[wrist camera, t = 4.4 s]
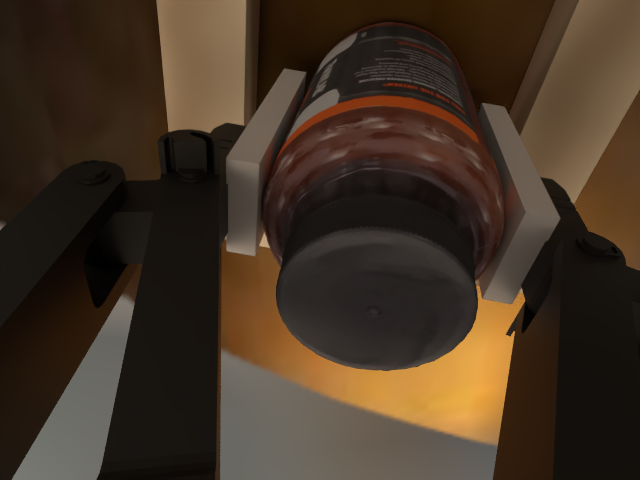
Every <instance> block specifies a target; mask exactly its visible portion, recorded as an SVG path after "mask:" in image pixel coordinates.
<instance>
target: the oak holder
mask: <svg viewBox="0 0 640 480" xmlns="http://www.w3.org/2000/svg"><path fill="white" fill-rule="evenodd" d="M157 9H158V20H159V31H160V42H161V53H162V64H163V75H164V85H165V96H166V107H167V118H168V129H169V132H171V131H176V130H184V129H193V130H201V131H204V132H207V133H211V131H212V130H213V129H214V128H216V127H218V126H220V125H222V124H224V123H232V124H238V125H243V126H247V125H248V123H249V122H250V120H251V119H252V117H253V116H254V114H255V113H256V103H257V77H258V50H259V23H260V0H157ZM639 90H640V0H555V2H554V4H553V7H552V9H551V11H550V14H549V16H548V19H547V21H546V24H545V26H544V29H543V31H542V34H541V36H540V39H539V41H538V44H537V46H536V48H535V51H534V53H533V56H532V58H531V61H530V63H529V66H528V68H527V71H526V73H525V76H524V78H523V81H522V83H521V85H520V88H519V90H518V93H517V95H516V98H515V100H514V103H513V105H512V108H511V110H510V113H509V116H510V118H511V120H512V122H513V124H514V126H515V128H516V130H517V132H518V134H519V136H520V138H521V140H522V142H523V144H524V146H525V148H526V150H527V152H528V154H529V156H530V158H531V160H532V162H533V164H534V166H535V168H536V170H537V172H538V174H539V176H540V177H543V178H548V179H553V180H554V181H555V182H557V183H558V184H559V185H560V186H561V187H562V188H564V189H565V190H566V192H567V194H568V196H569V197H570V199H571V202H572V203H573V205H574V203H575V201H576V199H577V198H578V196H579V194H580V192H581V191H582V189H583V187H584V185H585V184H586V182H587V180H588V178H589V177H590V175H591V173H592V171H593V170H594V168H595V166H596V165H597V163H598V161H599V159H600V158H601V156H602V154H603V152H604V151H605V149H606V147H607V145H608V144H609V142H610V140H611V138H612V137H613V135H614V133H615V132H616V130H617V128H618V126H619V125H620V123H621V121H622V119H623V118H624V116H625V114H626V112H627V111H628V109H629V107H630V105H631V104H632V102H633V100H634V98H635V97H636V95H637V93H638V92H639ZM225 240H227V236H226V237H225ZM259 246H263V247H269V245H268V242H267V238H266V235H265V232H264V235H263V237H262V240H261V242H260V245H259ZM269 248H270V247H269ZM475 283H476V285H478V286H480V285H479V280H476V281H475ZM519 293H523V291H522V287H521V289H520V291H519Z"/></svg>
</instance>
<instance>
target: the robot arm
mask: <svg viewBox="0 0 640 480" xmlns="http://www.w3.org/2000/svg"><path fill="white" fill-rule="evenodd" d="M305 81H306V72H302V71H296V70H291V69H285V68H284V70H283V71H282V73H281V74H280V76H279V77H278V79H277V80H276V82H275V84H274V85H273V87H272V88H271V90H270V91H269V93H268V94H267V96H266V97H265V99H264V100H263V102H262V104H261V105H260V107H259V108H258V110H257V111H256V113H255V114H254V116H253V117H252V119H251V120H250V122H249V123H248V125H247V126H243V125H238V124H232V123H224V124H222V125H220V126H218V127H216V128H214V129H213V130H212V131H211V133H207V132H204V131H201V130H193V129H184V130H176V131H171V132H168V133H166V134H164V135H162V136H161V137H160V139H159V140H158V149H159V158H160V167H161V178H160V179H159V180H149V181H126V178H125V173H124V171H123V168H121V167H120V166H118V165H117V164H115V163H111V162H107V161H97V160H91V161H84V162H81V163H78V164H75V165H72V166H70V167H68V168H67V169H65V170H64V171H62V172H61V173H60V174H59V175H58V176H57V177H56V178H55V179H54V180H53V181H52V182H51V183H50V184H49V185H48V186H47V187H45V188H44V189H43V190H42V191H41V192H40V193H39V194H38V195H37V196H36V197H35V198H34V199H33V200H32V201H31V202H30V203H29V204H27V205H26V206H25V207H24V208H23V209H22V210H21V211H20V212H19V213H18V214H17V215H16V216H15V217H14V218H13V219H12V220H10V221H9V222H8V223H7V224H6V225H5V226H4V227H3V228H2V229H1V230H0V480H12V478H13V476H14V474H15V473H16V471H17V469H18V468H19V466H20V464H21V463H22V461H23V459H24V458H25V456H26V454H27V453H28V451H29V449H30V447H31V446H32V444H33V443H34V441H35V439H36V438H37V436H38V434H39V432H40V431H41V429H42V427H43V426H44V424H45V422H46V421H47V419H48V417H49V416H50V414H51V412H52V410H53V409H54V407H55V405H56V404H57V402H58V400H59V399H60V397H61V395H62V394H63V392H64V390H65V389H66V387H67V385H68V384H69V382H70V380H71V379H72V377H73V375H74V373H75V372H76V370H77V368H78V367H79V365H80V363H81V362H82V360H83V358H84V357H85V355H86V353H87V352H88V350H89V348H90V346H91V345H92V343H93V342H94V340H95V338H96V337H97V335H98V333H99V331H100V330H101V328H102V326H103V325H104V323H105V321H106V320H107V318H108V316H109V315H110V313H111V311H112V309H113V308H114V306H115V305H116V303H117V301H118V299H119V298H120V296H121V294H122V293H123V291H124V289H125V288H126V286H127V284H128V283H129V281H130V279H131V278H132V276H133V274H134V273H135V271H136V269H137V267H138V264H141V263H143V266H142V271H141V276H140V280H139V285H138V290H137V295H136V300H135V305H134V310H133V315H132V320H131V325H130V330H129V334H128V339H127V344H126V349H125V354H124V359H123V364H122V369H121V374H120V379H119V383H118V388H117V393H116V398H115V403H114V408H113V413H112V418H111V423H110V428H109V433H108V437H107V443H106V447H105V452H104V457H103V462H102V466H101V469H100V473H99V476H98V478H97V480H220V399H221V393H220V392H221V390H220V389H221V385H220V384H221V245H222V243H223V241H224V239H225V237H226V236H227V251H229V252H235V253H240V254H246V255H251V256H255V255H256V253H257V250H258V247H259V245H260V242H261V240H262V237H263V235H264V229H263V220H262V208H263V198H264V192H265V188H266V184H267V181H268V178H269V175H270V172H271V170H272V168H273V165H274V163H275V161H276V159H277V156H278V154H279V151H280V148H281V146H282V144H283V143H284V141H285V138H286V136H287V133H288V132H289V130H290V127H291V125H292V123H293V121H294V119H295V117H296V115H297V112H298V110H299V108H300V106H301V103H302V101H303V99H304V90H305ZM478 115H479V118H480V121H481V124H482V127H483V130H484V133H485V135H486V138H487V142H488V145H489V147H490V151H491V154H492V156H493V159H494V161H495V165H496V169H497V172H498V175H499V178H500V181H501V184H502V190H503V196H504V206H505V220H504V228H503V234H502V238H501V241H500V244H499V247H498V249H497V251H496V253H495V256H494V258H493V259H492V261H491V262H490V264H489V266H488V267H487V268H486V270H485V271H484V272H483V274H482V275H481V277H480V278H479V279H478V280H479V285H480V290H481V294H482V299H486V300H491V301H497V302H502V303H507V304H512V303H513V302H514V300H515V298H516V296H517V294H518V293H519V291H520V289H521V287H522V291H523V294H524V297H525V300H526V301H525V303H524V304H523V306H522V308H521V309H520V311H519V313H518V314H517V316H516V318H515V320H514V321H513V323H512V325H511V326H510V328H509V330H508V332H507V334H506V335H508V336H511V334H512V333H513V331H515V336H514V343H513V349H512V356H511V363H510V369H509V376H508V383H507V389H506V396H505V402H504V409H503V416H502V422H501V429H500V436H499V442H498V449H497V455H496V462H495V469H494V476H493V480H640V271H638V270H636V269H633V268H630V267H628V266H626V261H625V257H624V255H623V253H622V251H621V250H620V249H619V248H618V247H617V246H616V245H615V244H614V243H612V242H610V241H609V240H607V239H606V238H604V237H602V236H599V235H597V234H595V233H592V232H589V231H588V229H587V228H586V226H585V224H584V222H583V221H582V219H581V217H580V215H579V213H578V212H577V211H576V208H575V206H574V205H573V203H572V202H571V199H570V197H569V196H568V194H567V192H566V190H565V189H564V188H562V187H561V186H560V185H559V184H558V183H557V182H555V181H554V180H553V179H548V178H543V177H540V176H539V174H538V172H537V170H536V168H535V166H534V164H533V162H532V160H531V158H530V156H529V154H528V152H527V150H526V148H525V146H524V144H523V142H522V140H521V138H520V136H519V134H518V132H517V130H516V128H515V126H514V124H513V122H512V120H511V118H510V116H509V114H508V112H507V110H506V108H505V107H504V106H498V105H492V104H487V103H482V104H481V107H480V110H479V112H478Z"/></svg>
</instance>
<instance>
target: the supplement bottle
mask: <svg viewBox="0 0 640 480" xmlns="http://www.w3.org/2000/svg"><path fill="white" fill-rule="evenodd" d="M262 220H263V229H264V232H265V235H266V238H267V242H268V245H269V247H270V249H271V251H272V253H273V255H274V258H275V259H276V260H277V262H278V264H279V266H280V267H281V270H280V273H279V277H278V281H277V286H276V300H277V307H278V310H279V313H280V316H281V318H282V320H283V322H284V323H285V325H286V327H287V328H288V329H289V331H290V332H291V334H292V335H293V336H294V337H295V338H296V339H298V340H299V341H300V342H301V343H302V344H303V345H304V346H306V347H307V348H308V349H310V350H312V351H313V352H315V353H316V354H317V355H319V356H321V357H324V358H326V359H328V360H330V361H333V362H335V363H338V364H341V365H344V366H349V367H353V368H357V369H367V370H383V371H390V370H398V369H407V368H411V367H418V366H420V365H422V364H425V363H429V362H432V361H435V360H436V359H438V358H440V357H442V356H443V355H445V354H447V353H449V352H450V351H452V350H453V349H454V348H455V347H456V346H457V345H458V344H459V343H460V342H462V341H463V340H464V339H465V337H466V336H467V334H468V333H469V332H470V330H471V329H472V327H473V324H474V322H475V319H476V313H477V309H478V297H477V289H476V283H475V281H476V280H478V279H479V278H480V277H481V275H482V274H483V272H484V271H485V270H486V268H487V267H488V266H489V264H490V262H491V261H492V259H493V258H494V256H495V253H496V251H497V249H498V247H499V244H500V241H501V238H502V234H503V228H504V220H505V206H504V196H503V190H502V184H501V181H500V178H499V175H498V172H497V169H496V165H495V161H494V159H493V156H492V154H491V151H490V147H489V145H488V142H487V138H486V135H485V133H484V130H483V127H482V124H481V121H480V118H479V115H478V112H477V109H476V107H475V104H474V101H473V97H472V95H471V92H470V88H469V86H468V83H467V80H466V77H465V75H464V73H463V71H462V69H461V67H460V65H459V62H458V60H457V59H456V57H455V56H454V54H453V53H452V51H451V50H450V49H449V48H448V46H447V45H446V44H445V43H444V42H443V41H442V40H441V39H439V38H438V37H437V36H435V35H434V34H432V33H430V32H428V31H426V30H424V29H422V28H420V27H417V26H414V25H410V24H405V23H397V22H384V23H377V24H373V25H369V26H366V27H363V28H361V29H359V30H357V31H355V32H353V33H351V34H349V35H348V36H346V37H345V38H343V39H342V40H341V41H339V42H338V43H337V44H336V45H335V46H334V47H333V48H332V49H331V50H330V51H329V53H328V54H327V55H326V56H325V58H324V59H323V61H322V62H321V64H320V65H319V66H318V68H317V70H316V72H315V74H314V76H313V78H312V80H311V82H310V85H309V87H308V89H307V92H306V94H305V96H304V99H303V101H302V103H301V106H300V108H299V110H298V112H297V115H296V117H295V119H294V121H293V123H292V125H291V127H290V130H289V132H288V133H287V136H286V138H285V141H284V143H283V144H282V146H281V148H280V151H279V154H278V156H277V159H276V161H275V163H274V165H273V168H272V170H271V172H270V175H269V178H268V181H267V184H266V188H265V192H264V198H263V208H262Z"/></svg>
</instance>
